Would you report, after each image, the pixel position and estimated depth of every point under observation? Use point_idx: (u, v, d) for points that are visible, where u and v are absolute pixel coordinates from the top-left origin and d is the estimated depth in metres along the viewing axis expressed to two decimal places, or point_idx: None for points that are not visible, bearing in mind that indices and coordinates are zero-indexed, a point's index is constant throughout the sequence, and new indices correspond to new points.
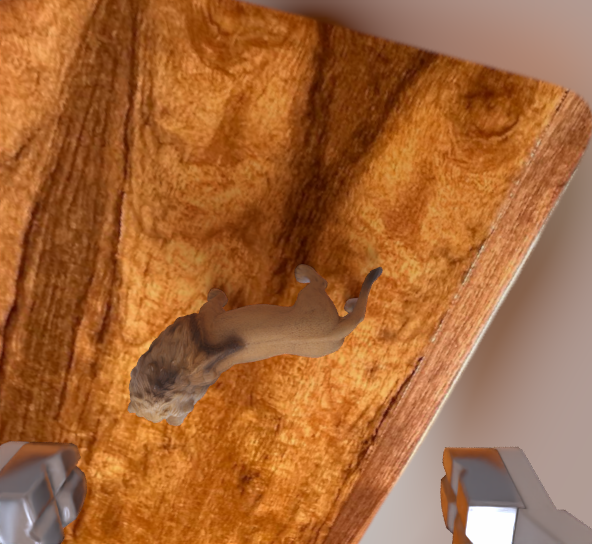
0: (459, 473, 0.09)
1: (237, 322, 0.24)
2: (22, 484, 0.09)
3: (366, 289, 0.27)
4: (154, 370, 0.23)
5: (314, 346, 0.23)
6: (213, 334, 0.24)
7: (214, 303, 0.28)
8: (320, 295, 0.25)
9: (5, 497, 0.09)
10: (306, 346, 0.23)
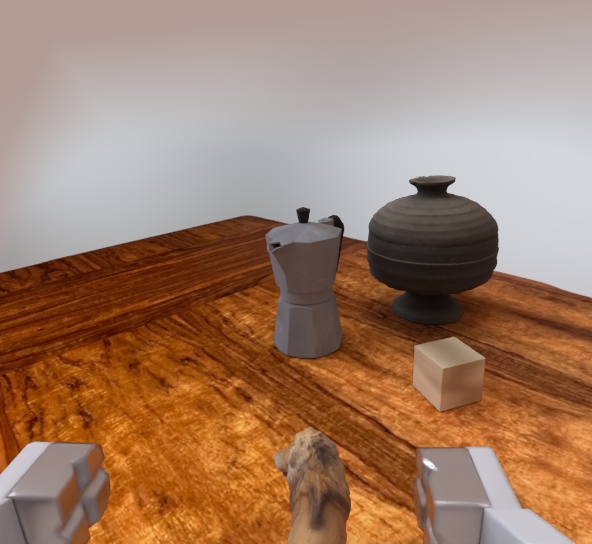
0: (429, 473, 0.09)
1: (331, 536, 0.27)
2: (50, 484, 0.09)
3: None
4: (332, 453, 0.30)
5: None
6: (332, 512, 0.28)
7: None
8: None
9: (34, 497, 0.08)
10: None
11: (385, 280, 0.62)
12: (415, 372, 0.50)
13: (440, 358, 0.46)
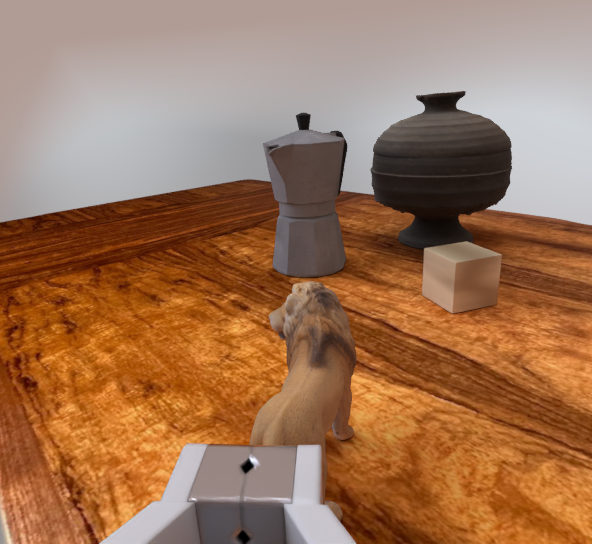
0: None
1: (334, 376, 0.23)
2: (228, 488, 0.09)
3: None
4: (334, 300, 0.26)
5: (277, 403, 0.20)
6: (334, 356, 0.24)
7: (347, 405, 0.26)
8: None
9: (218, 501, 0.08)
10: (282, 397, 0.20)
11: (391, 201, 0.59)
12: (425, 278, 0.46)
13: (452, 255, 0.42)
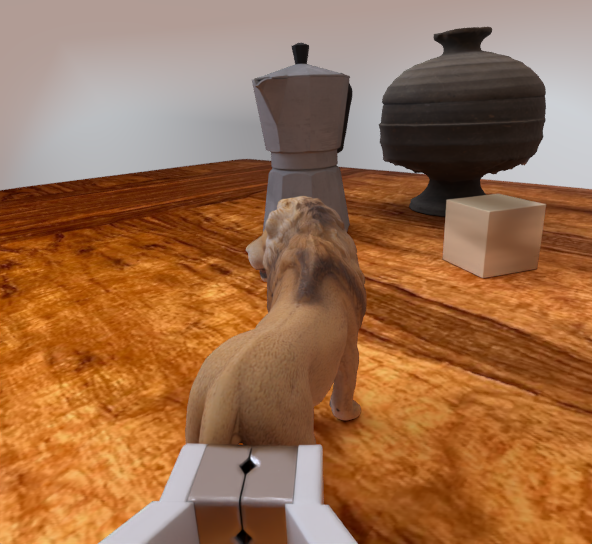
0: None
1: (332, 318, 0.15)
2: (227, 488, 0.09)
3: None
4: (336, 219, 0.18)
5: (233, 345, 0.12)
6: (335, 291, 0.16)
7: (352, 369, 0.18)
8: (298, 444, 0.12)
9: (217, 501, 0.08)
10: (244, 337, 0.12)
11: (403, 157, 0.50)
12: (447, 238, 0.37)
13: (483, 205, 0.34)
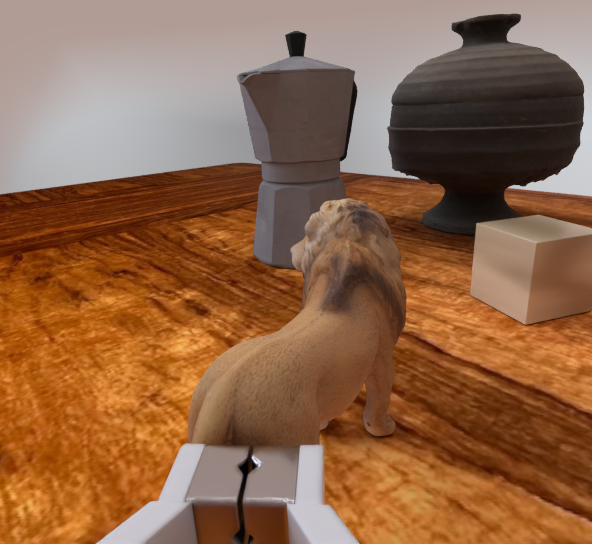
0: None
1: (358, 329, 0.15)
2: (225, 488, 0.09)
3: None
4: (380, 225, 0.17)
5: (240, 350, 0.12)
6: (366, 301, 0.15)
7: (385, 384, 0.17)
8: None
9: (215, 501, 0.08)
10: (252, 343, 0.12)
11: (416, 167, 0.43)
12: (476, 270, 0.30)
13: (526, 233, 0.27)
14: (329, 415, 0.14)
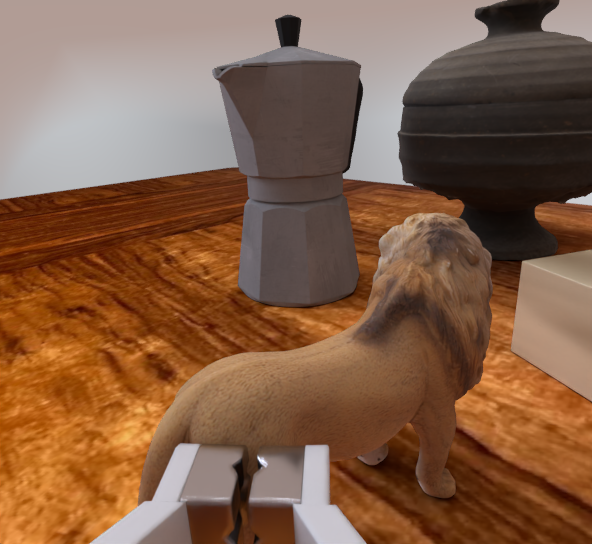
0: None
1: (387, 369, 0.12)
2: (220, 487, 0.09)
3: None
4: (465, 249, 0.14)
5: (225, 362, 0.11)
6: (413, 338, 0.13)
7: (438, 439, 0.14)
8: None
9: (209, 501, 0.08)
10: (242, 357, 0.12)
11: (434, 180, 0.36)
12: (520, 321, 0.23)
13: None
14: (330, 455, 0.12)
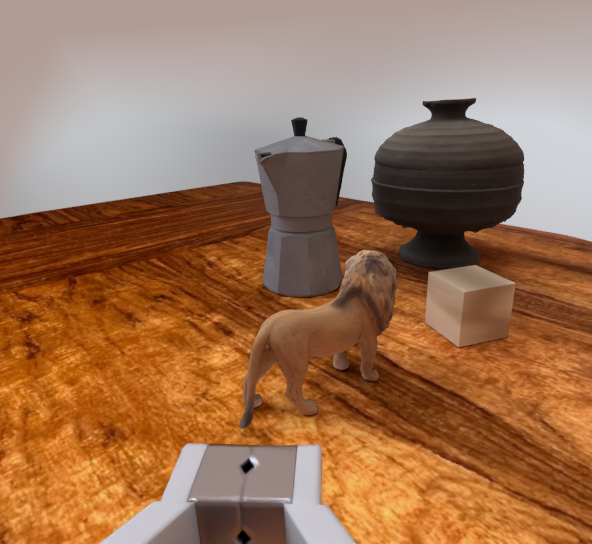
0: None
1: (345, 317, 0.31)
2: (228, 488, 0.09)
3: (250, 398, 0.29)
4: (381, 268, 0.33)
5: (281, 312, 0.30)
6: (356, 305, 0.31)
7: (369, 351, 0.33)
8: (291, 358, 0.29)
9: (218, 501, 0.08)
10: (287, 310, 0.30)
11: (392, 215, 0.54)
12: (428, 305, 0.41)
13: (460, 283, 0.38)
14: (321, 351, 0.31)
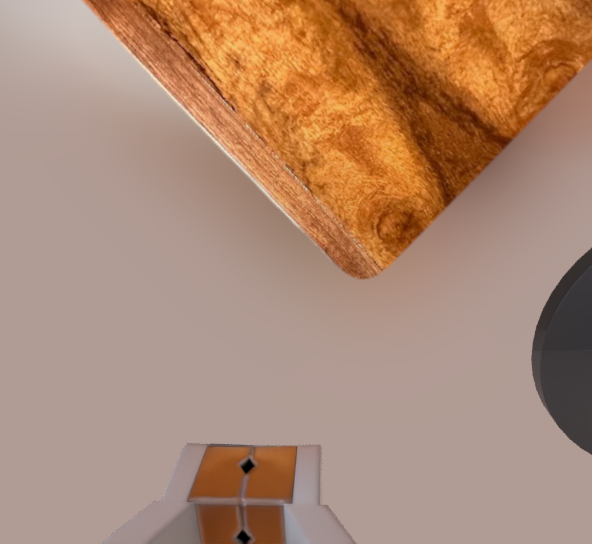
0: None
1: None
2: (228, 488, 0.09)
3: None
4: None
5: None
6: None
7: None
8: None
9: (218, 501, 0.08)
10: None
11: None
12: None
13: None
14: None
